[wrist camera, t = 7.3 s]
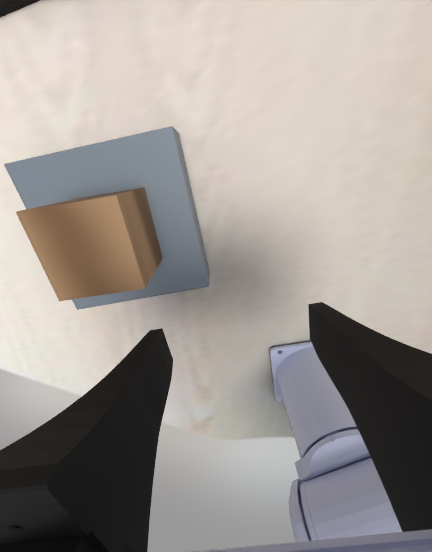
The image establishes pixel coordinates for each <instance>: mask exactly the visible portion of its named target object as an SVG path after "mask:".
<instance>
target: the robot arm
mask: <svg viewBox="0 0 432 552" xmlns="http://www.w3.org/2000/svg"><path fill="white" fill-rule="evenodd" d="M309 327H310V340H311V342H305V343H298V344H292V345H285V346H278V347H273V348H271V349H270V358H271V367H272V375H273V383H274V392H275V399H276V401H277V402H284V404H285V407H286V410H287V414H288V417H289V420H290V424H291V427H292V430H293V434H294V437H295V440H296V444H297V447H298V450H299V454H300V457H301V459H300V460H298V461H296V462H295V465H296V469H297V473H298V476H299V479H296V480H294V481H293V482H292V485H291V491H290V497H289V512H290V519H291V524H292V529H293V533H294V537H295V541H296V542H290V543H279V544H268V545H257V546H247V547H236V548H225V549H215V550H205V551H193V552H432V354H430V353H427V352H424V351H422V350H419V349H416V348H413V347H411V346H408V345H406V344H403V343H401V342H398V341H396V340H393V339H391V338H389V337H386V336H384V335H382V334H380V333H378V332H376V331H374V330H372V329H370V328H368V327H366V326H364V325H362V324H360V323H358V322H356V321H354V320H352V319H351V318H349V317H347V316H345V315H343V314H342V313H340V312H338V311H336V310H335V309H333V308H331V307H330V306H328V305H326V304H324V303H322V302H320V303H314V304H309ZM280 350H281V351H280ZM278 351H280V352H278ZM172 366H173V358H172V355H171V353H170V350H169V347H168V344H167V341H166V338H165V335H164V332H163V329H156V330H150V331H149V332H148V333H147V334H146V335H145V336H144V337H143V339H142V340H141V341H140V342H139V343H138V344H137V345H136V346H135V347H134V348H133V349H132V350H131V352H130V353H129V354H128V355H127V356H126V357H125V358H124V359H123V360H122V361H121V362H120V363H119V364H118V365H117V366H116V367H115V368H114V369H113V370H112V371H111V372H110V373H109V374H108V375H107V376H106V377H105V378H103V379H102V380H101V381H100V382H99V383H98V384H97V385H95V386H94V387H93V388H92V389H91V390H90V391H88V392H87V393H86V394H85V395H83V396H82V397H81V398H80V399H78V400H77V401H76V402H74V403H73V404H72V405H70V406H69V407H68V408H66V409H65V410H64V411H62V412H61V413H59V414H58V415H57V416H55V417H54V418H52V419H51V420H49V421H48V422H46V423H45V424H43V425H42V426H40V427H38V428H37V429H35V430H34V431H32V432H31V433H29V434H28V435H26V436H24V437H22V438H21V439H19V440H17V441H16V442H14V443H12V444H10V445H9V446H7V447H5V448H4V449H2V450H0V552H147V546H148V531H149V518H150V506H151V496H152V485H153V477H154V468H155V459H156V451H157V444H158V436H159V431H160V426H161V421H162V417H163V413H164V409H165V404H166V400H167V396H168V391H169V387H170V382H171V376H172Z"/></svg>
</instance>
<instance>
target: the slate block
mask: <svg viewBox="0 0 432 552" xmlns="http://www.w3.org/2000/svg"><path fill="white" fill-rule="evenodd" d="M4 165H5V167H6V169H7V171H8V173H9V175H10V177H11V179H12V181H13V183H14V185H15V187H16V189H17V191H18V193H19V195H20V197H21V199H22V201H23V203H24V205H25V207H26V209H31V208H36V207H40V206H45V205H49V204H53V203H58V202H62V201H67V200H71V199H77V198H83V197H89V196H95V195H101V194H107V193H113V192H119V191H125V190H131V189H137V188H145V192H146V196H147V199H148V203H149V207H150V211H151V215H152V219H153V223H154V226H155V230H156V234H157V238H158V242H159V246H160V250H161V253H162V257H163V258H162V260H161V262H160V264H159V265H158V267H157V269H156V271H155V273H154V274H153V276H152V278H151V280H150V281H149V283H148V285H147V287H146V289H141V290H134V291H127V292H120V293H113V294H106V295H99V296H92V297H85V298H78V299H72V300H73V302H74V304H75V306H76V308H77V310H78V309H84V308H89V307H95V306H101V305H106V304H112V303H118V302H123V301H129V300H135V299H140V298H146V297H152V296H158V295H163V294H169V293H175V292H180V291H186V290H192V289H197V288H203V287H209V268H208V263H207V259H206V254H205V250H204V245H203V240H202V236H201V231H200V227H199V222H198V218H197V213H196V209H195V204H194V200H193V195H192V191H191V186H190V182H189V177H188V173H187V168H186V164H185V159H184V154H183V150H182V145H181V141H180V136H179V133H178V132H177V131H176V130H175V129H174V128H173V127H167V128H163V129H158V130H154V131H150V132H145V133H141V134H136V135H132V136H127V137H123V138H118V139H114V140H109V141H105V142H101V143H96V144H92V145H87V146H83V147H78V148H74V149H69V150H65V151H61V152H56V153H52V154H47V155H43V156H38V157H34V158H29V159H25V160H21V161H16V162H12V163H7V164H4Z"/></svg>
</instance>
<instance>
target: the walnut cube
mask: <svg viewBox="0 0 432 552" xmlns="http://www.w3.org/2000/svg"><path fill="white" fill-rule="evenodd" d="M16 213H17V215H18V217H19V220H20V222H21V224H22V226H23V228H24V230H25V232H26V234H27V236H28V238H29V240H30V242H31V244H32V246H33V248H34V250H35V252H36V254H37V256H38V258H39V260H40V262H41V265H42V267H43V269H44V271H45V273H46V275H47V277H48V279H49V281H50V283H51V285H52V287H53V289H54V291H55V293H56V295H57V297H58V299H59V301H64V300H71V299H78V298H85V297H92V296H99V295H106V294H113V293H120V292H127V291H134V290H141V289H146V287H147V285H148V283H149V281H150V280H151V278H152V276H153V274H154V273H155V271H156V269H157V267H158V265H159V264H160V262H161V260H162V258H163V257H162V253H161V250H160V246H159V242H158V238H157V234H156V230H155V226H154V223H153V219H152V215H151V211H150V207H149V203H148V199H147V196H146V192H145V188H137V189H131V190H125V191H119V192H113V193H107V194H101V195H95V196H89V197H83V198H77V199H71V200H67V201H62V202H58V203H53V204H49V205H45V206H40V207H36V208H31V209H27V210H22V211H18V212H16Z"/></svg>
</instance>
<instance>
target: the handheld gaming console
mask: <svg viewBox="0 0 432 552" xmlns="http://www.w3.org/2000/svg"><path fill="white" fill-rule="evenodd" d="M37 1H39V0H0V17H2V16H5V15H7V14H9V13H11V12H14V11H16V10H18V9H21V8H23V7H25V6H28V5H30V4H32V3H35V2H37Z"/></svg>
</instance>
